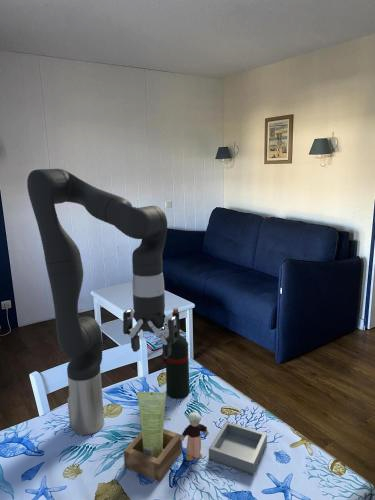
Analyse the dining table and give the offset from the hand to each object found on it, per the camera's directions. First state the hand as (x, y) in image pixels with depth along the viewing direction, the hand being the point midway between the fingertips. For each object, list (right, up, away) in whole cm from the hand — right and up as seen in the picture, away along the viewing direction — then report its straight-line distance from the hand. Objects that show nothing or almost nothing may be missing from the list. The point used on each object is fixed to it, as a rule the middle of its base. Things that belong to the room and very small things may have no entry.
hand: (151, 353), depth 93 cm
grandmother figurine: (+11, -29, +7) cm, 32 cm away
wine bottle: (+5, -23, +36) cm, 43 cm away
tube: (0, -30, +6) cm, 30 cm away
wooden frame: (0, -29, +6) cm, 30 cm away
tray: (+23, -28, +8) cm, 37 cm away
